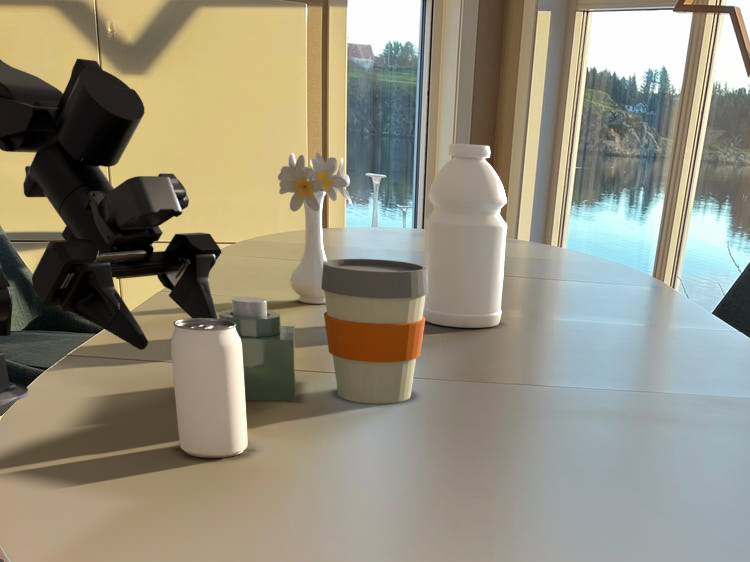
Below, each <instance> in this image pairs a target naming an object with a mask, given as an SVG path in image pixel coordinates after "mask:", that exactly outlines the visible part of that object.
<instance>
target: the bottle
mask: <svg viewBox="0 0 750 562" xmlns="http://www.w3.org/2000/svg"><path fill="white" fill-rule="evenodd" d="M448 155H449V156H451V157H452V158H450V160H448V162H446V164H444V165H443V166H442V168H441V169H440V170H439V171H438V173H437V174H436V175H435V177H434V179H433V181H432V182H431V184H430V188H429V191H428V193H427V199H428V200H429V202H430V203H431V205H432V208H433V209H432V211H431V212H430V213H429V215H428V216H427V217H426V218H425V219H424V259H423V261H424V262H423V266H425V267H426V268H427V280H428V294H427V295H425V302H424V308H423V315H422V316H423V317H425V322H427V323H429V324H432V325H438V326H443V327H451V328H461V329H462V328H463V329H483V328H492V327H496V326H498V325H499V324H500V322H501V317H502V313H503V312H502V297H503V284H504V271H505V269H504V268H505V254H506V242H507V241H506V240H507V231H508V224H507V223H506V222H505V220H504V219H503V217H502V215H501V209H502V208H503V207H504V206H506V204H507V203H508V200H507V196H506V191H505V189H504V186H503V183H502V181H501V179H500V176H499V175H498V174H497V172H496V171H495V169H494V168H493V166H492V165H491V164H490V163H489V162H488V161H487V159H490V158H491V148H490V146H489V145H485V144H484V145H483V144H472V143H471V144H470V143H456V142H455V143H453V142H452V143H450V144H449V147H448Z"/></svg>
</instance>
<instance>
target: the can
mask: <svg viewBox="0 0 750 562" xmlns="http://www.w3.org/2000/svg"><path fill="white" fill-rule="evenodd" d="M235 326H236V323H235V322H232V321H229V320H224V319H219V318H218V319H214V318H191V317H190V318H183V319H177V320H175V321H173V327H174V329H173V332H172V335H171V338H170V352H171V353H170V355H171V362H172V363H171V365H172V376H173V389H174V396H175V397H174V398H175V407H176V408H175V410H176V419H177V429H178V439H179V447H180V449H181V450H182V451H183V452H184V453H185V454H186V455H188V456H191V457H196V458H202V459H224V458H230V457H235V456H238V455H241V454H242V453H244V452H245V451H246V449H247V448H248V446H249V445H248V423H247V406H246V400H245V386H244V369H243V354H242V342H241V339H240V337H239V335H238V333H237V331H236V328H235Z"/></svg>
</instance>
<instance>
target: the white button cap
mask: <svg viewBox="0 0 750 562" xmlns="http://www.w3.org/2000/svg"><path fill="white" fill-rule="evenodd" d="M231 310H232V315H233V316H238V317H251V318H256V317H266V316H267V311H268V300H267V298H264V297H256V296H236V297H232V298H231Z"/></svg>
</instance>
